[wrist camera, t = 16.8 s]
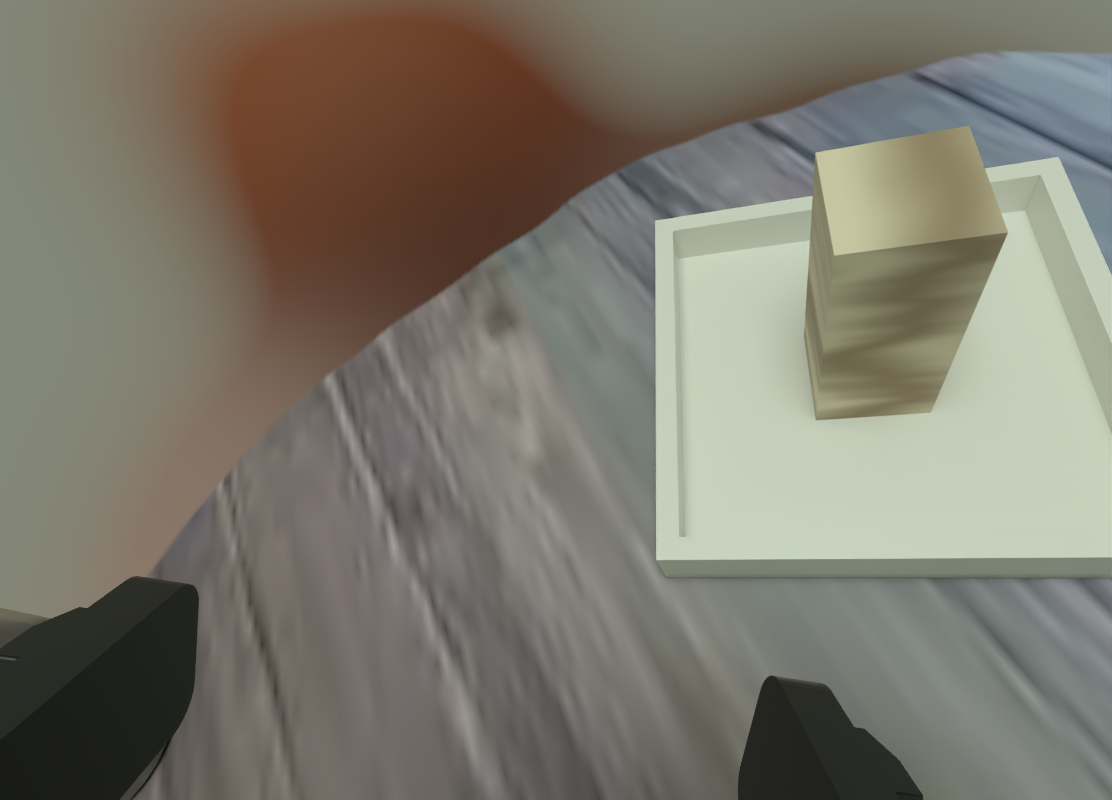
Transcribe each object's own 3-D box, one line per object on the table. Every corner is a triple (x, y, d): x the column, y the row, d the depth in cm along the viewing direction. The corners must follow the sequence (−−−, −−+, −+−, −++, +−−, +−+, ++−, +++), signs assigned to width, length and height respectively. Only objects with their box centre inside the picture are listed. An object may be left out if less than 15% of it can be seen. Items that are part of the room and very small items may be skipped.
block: (815, 420, 31) (834, 255, 21) (804, 335, 34) (815, 152, 24) (930, 412, 30) (1008, 232, 20) (909, 325, 32) (969, 125, 22)
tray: (666, 577, 30) (656, 560, 28) (663, 255, 40) (655, 220, 37) (1190, 578, 24) (1237, 556, 22) (1037, 201, 34) (1058, 157, 32)
